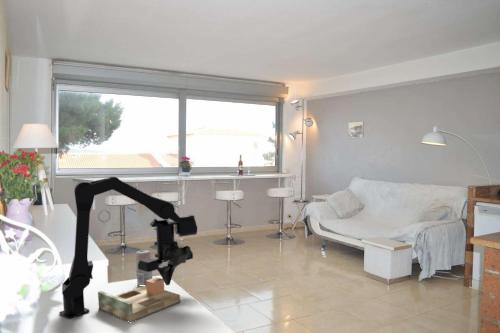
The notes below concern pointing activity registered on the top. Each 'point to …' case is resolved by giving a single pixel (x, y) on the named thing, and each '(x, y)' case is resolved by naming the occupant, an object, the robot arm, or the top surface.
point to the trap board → (136, 303)
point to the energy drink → (141, 274)
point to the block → (155, 286)
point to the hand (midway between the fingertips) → (167, 284)
